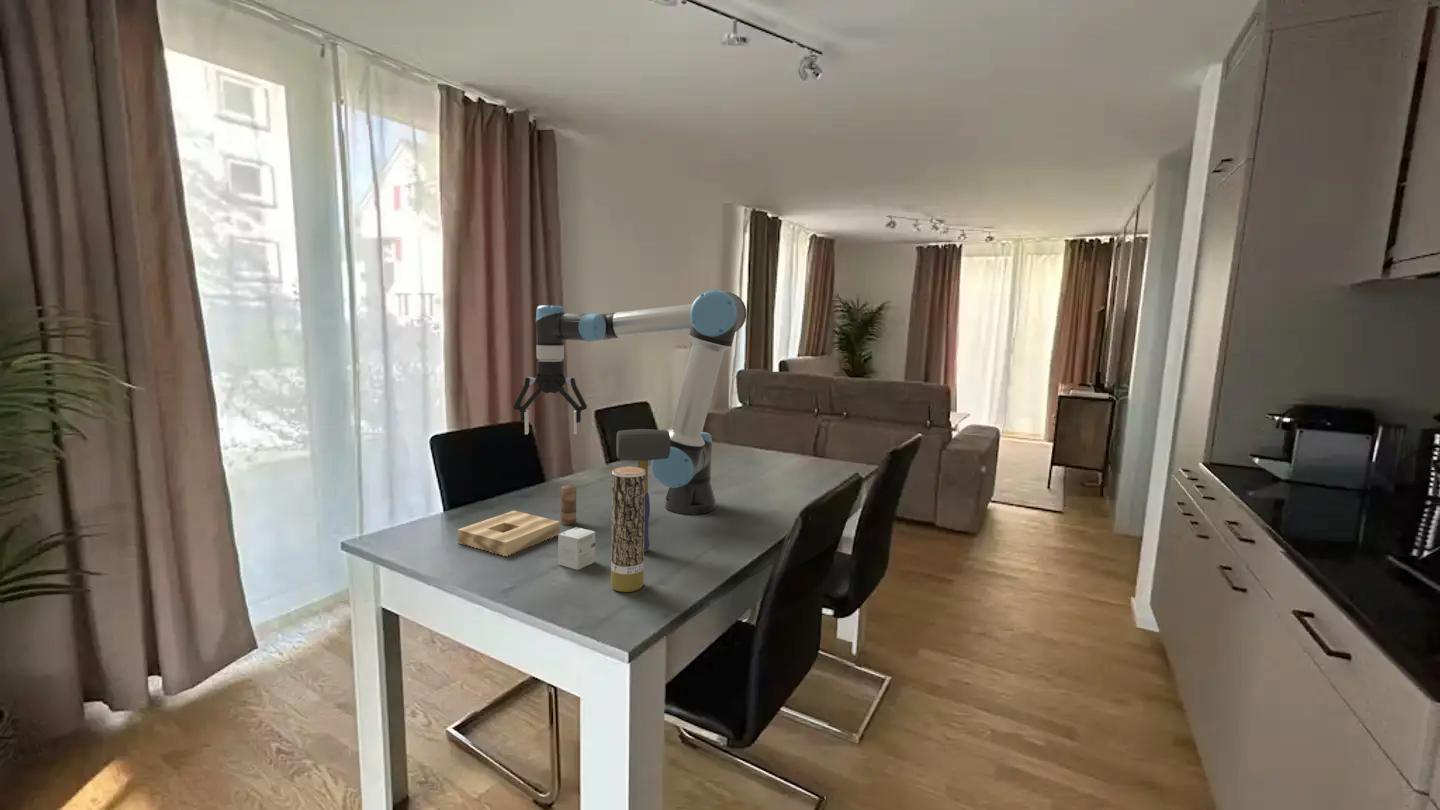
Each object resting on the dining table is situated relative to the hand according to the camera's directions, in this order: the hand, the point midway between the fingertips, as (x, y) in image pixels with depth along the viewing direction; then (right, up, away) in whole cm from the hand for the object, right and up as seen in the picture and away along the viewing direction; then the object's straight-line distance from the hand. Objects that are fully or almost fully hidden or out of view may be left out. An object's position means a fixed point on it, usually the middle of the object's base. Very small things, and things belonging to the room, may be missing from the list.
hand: (551, 433), depth 180 cm
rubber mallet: (+30, -27, -29) cm, 50 cm away
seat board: (-4, -25, -24) cm, 35 cm away
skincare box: (+16, -28, -38) cm, 50 cm away
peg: (+8, -24, -11) cm, 27 cm away
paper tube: (+29, -30, -49) cm, 65 cm away
